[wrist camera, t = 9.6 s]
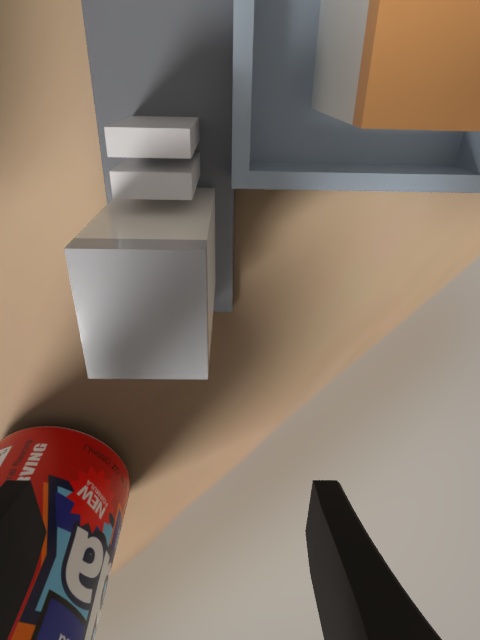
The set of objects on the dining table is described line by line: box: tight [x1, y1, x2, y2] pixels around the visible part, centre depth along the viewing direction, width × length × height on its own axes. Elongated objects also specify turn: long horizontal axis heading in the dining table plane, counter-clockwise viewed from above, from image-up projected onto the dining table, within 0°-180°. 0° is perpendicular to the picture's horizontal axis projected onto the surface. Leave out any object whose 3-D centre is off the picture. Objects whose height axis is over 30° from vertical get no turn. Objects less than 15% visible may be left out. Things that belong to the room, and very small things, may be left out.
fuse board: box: [81, 0, 234, 312], centre depth 13 cm, size 5×21×5 cm, turn 179°
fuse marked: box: [311, 0, 480, 131], centre depth 12 cm, size 4×4×7 cm
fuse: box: [64, 188, 215, 379], centre depth 15 cm, size 4×4×7 cm
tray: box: [232, 0, 480, 193], centre depth 14 cm, size 9×9×2 cm
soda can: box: [0, 426, 130, 640], centre depth 19 cm, size 8×8×15 cm
